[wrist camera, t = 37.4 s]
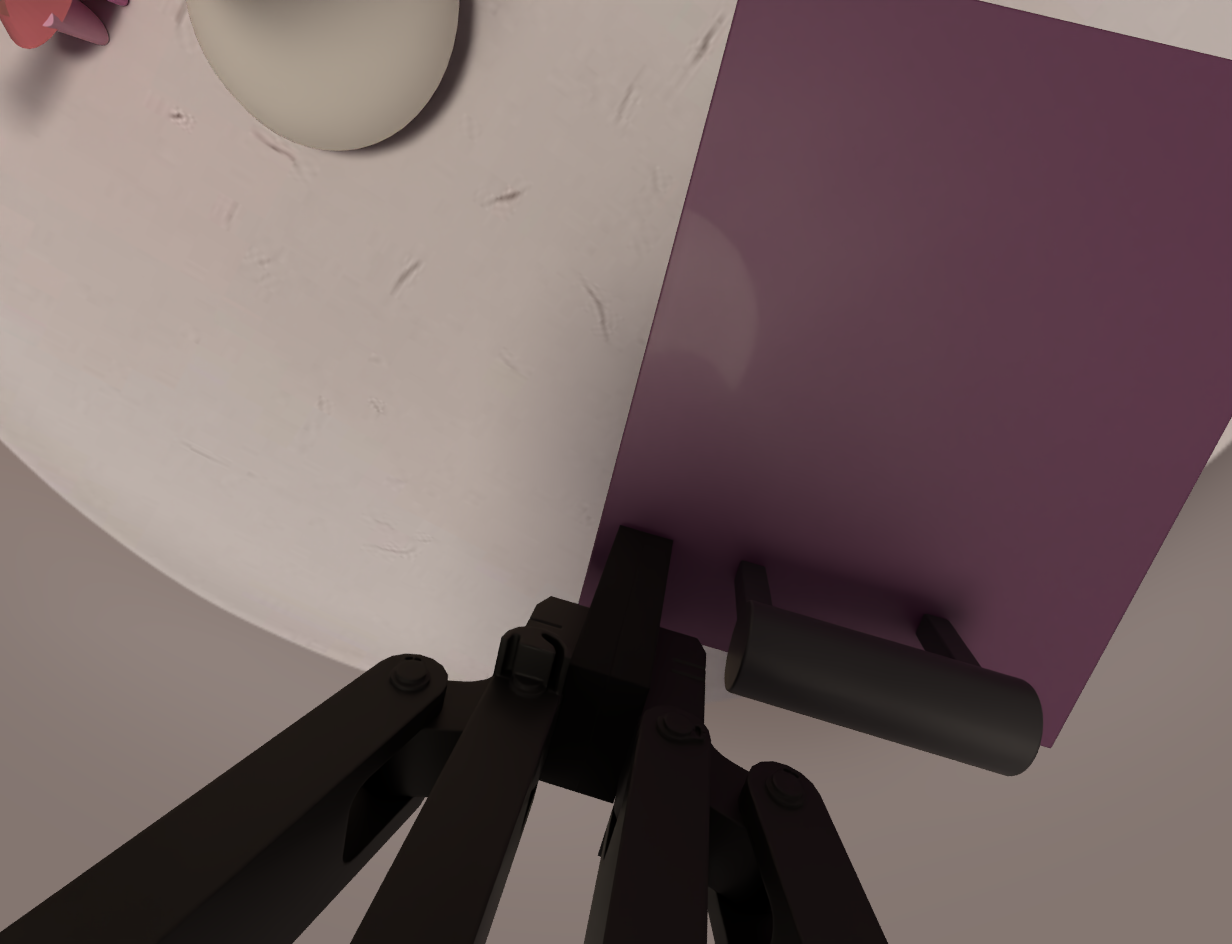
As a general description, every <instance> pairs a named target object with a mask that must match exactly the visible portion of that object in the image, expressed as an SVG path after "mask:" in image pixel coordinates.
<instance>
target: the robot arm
mask: <svg viewBox="0 0 1232 944" xmlns="http://www.w3.org/2000/svg"><path fill="white" fill-rule="evenodd" d="M672 546H673V540H670V539H667V538H664V537H660V536H657V535H653V534H650V533H646V532H643V531H639V530H636V529H633V528H629V527H626V526H622V525H620V526H619V529H618V532H617V534H616V537H615V540H614V543H613V545H612V548H611V551H610V553H609V556H608V559H607V562H606V564H605V567H604V570H603V573H602V575H601V578H600V581H599V584H598V586H597V589H596V592H595V594H594V597H593V600H592V603H591V605H590V608H589V607H586V606H582V605H579V604H576V603H572V602H569V601H566V600H562V599H559V598H556V597H552V596H550V597H549V598H547V599H545V600H544V601H542V602H540V603H539V604H537V605H536V607H535V609H534V611H533V613H532V615H531V617H530V619H529V621H528V623H527V625H526V626H525V627H517V628H514V629H512V630H509V631H507V632H506V633H505V634H504V635H503V636H502V638H501V642H500V647H499V651H498V656H497V660H496V665H495V669H494V674H493V676H492V677H490V678H488V679H485V680H480V681H472V682H462V681H448V674H447V673H446V671H445V669H444V667H443V666H442V665H441V664H439V663H438V662H436V661H435V660H434V659H431V658H428V657H425V656H422V655H417V654H401V655H395V656H391V657H389V658H387V659H385V660H383V661H381V662H379V663H378V664H376V665H375V666H374V667H372V668H371V669H369V670H368V671H366V672H365V673H364V674H362V675H361V676H360V677H358V678H357V679H355V680H354V681H353V682H351V683H350V684H348V685H347V686H345V687H344V688H343V689H341V690H340V691H338V692H337V693H336V694H334V695H333V696H331V697H330V698H329V699H327V700H326V701H324V702H323V703H322V704H320V705H319V706H317V707H316V708H315V709H313V710H312V711H310V712H309V713H308V714H306V715H305V716H303V717H302V718H300V719H299V720H298V721H296V722H295V723H294V724H292V725H291V726H289V727H288V728H286V729H285V730H284V731H282V732H281V733H279V734H278V735H277V736H275V737H274V738H272V739H271V740H270V741H268V742H267V743H265V744H264V745H263V746H261V747H260V748H258V749H257V750H256V751H254V752H253V753H251V754H250V755H249V756H247V757H246V758H244V759H243V760H241V761H240V762H239V763H237V764H236V765H235V766H233V767H232V768H230V769H229V770H227V771H226V772H225V773H223V774H222V775H220V776H219V777H218V778H216V779H215V780H213V781H212V782H211V783H209V784H208V785H206V786H205V787H204V788H202V789H201V790H199V791H198V792H197V793H195V794H194V795H192V796H191V797H190V798H189V799H187V800H185V801H184V802H182V803H181V804H180V805H178V806H177V807H175V808H174V809H173V810H171V811H170V812H168V813H167V814H166V815H164V816H163V817H161V818H160V819H159V820H157V821H156V822H154V823H153V824H152V825H150V826H149V827H147V828H146V829H145V830H143V831H142V832H140V833H139V834H138V835H136V836H135V837H133V838H132V839H131V840H129V841H128V842H126V843H125V844H123V845H122V846H121V847H119V848H118V849H116V850H115V851H114V852H112V853H111V854H110V855H108V856H107V857H105V858H104V859H102V860H101V861H100V862H98V863H97V864H95V865H94V866H93V867H91V868H90V869H88V870H87V871H86V872H84V873H83V874H82V875H80V876H79V877H77V878H76V879H74V880H73V881H72V882H70V883H69V884H67V885H66V886H65V887H63V888H62V889H60V890H59V891H58V892H56V893H55V894H53V895H52V896H50V897H49V898H48V899H46V900H45V901H44V902H42V903H41V904H39V905H38V906H36V907H35V908H34V909H32V910H31V911H29V912H28V913H27V914H25V915H24V916H22V917H21V918H20V919H18V920H17V921H15V922H14V923H13V924H11V925H10V926H8V927H7V928H6V929H4V930H3V931H1V932H0V944H292V943H293V942H294V941H295V940H296V939H297V938H298V937H299V936H300V935H301V933H302V932H303V931H304V930H305V929H306V928H307V927H308V926H309V925H310V924H311V923H312V921H314V919H315V918H316V917H317V916H318V915H319V914H320V913H321V912H322V911H323V910H324V909H325V908H326V907H327V906H328V904H329V903H330V902H331V901H332V900H333V899H334V898H335V897H336V896H337V895H338V894H339V893H340V891H341V890H342V889H343V888H344V887H345V886H346V885H347V884H348V883H349V882H350V881H351V880H352V878H353V877H354V876H355V875H356V874H357V873H358V872H359V871H360V870H361V869H362V867H364V866H365V864H366V863H367V862H368V861H369V860H370V859H371V858H372V857H373V856H374V855H375V854H376V853H377V852H378V850H379V849H380V848H381V847H382V846H383V845H384V844H385V843H386V842H387V841H388V839H390V837H391V836H392V835H393V834H394V833H395V832H396V831H397V830H398V829H399V828H400V827H401V826H402V825H403V823H404V822H405V821H406V820H407V819H408V818H409V817H410V816H411V815H412V814H413V813H414V812H415V811H416V809H417V808H418V807H419V806H420V805H421V803H422V801H423V800H424V798H425V797H428V798H427V800H426V802H425V804H424V805H423V807H422V809H421V811H420V813H419V815H418V817H417V819H416V821H415V822H414V824H413V826H412V828H411V830H410V832H409V834H408V836H407V838H406V839H405V841H404V843H403V845H402V847H401V849H400V851H399V853H398V854H397V856H396V858H395V860H394V862H393V864H392V866H391V867H390V869H389V871H388V873H387V875H386V877H385V879H384V881H383V883H382V884H381V886H380V888H379V890H378V892H377V894H376V896H375V898H374V899H373V901H372V903H371V905H370V907H369V909H368V911H367V913H366V915H365V916H364V918H363V920H362V922H361V924H360V926H359V928H358V929H357V931H356V933H355V935H354V937H353V939H352V941H351V943H350V944H485V943H486V940H487V937H488V934H489V931H490V928H491V925H492V922H493V919H494V916H495V913H496V910H497V907H498V904H499V901H500V898H501V895H502V892H503V889H504V886H505V883H506V880H507V877H508V874H509V871H510V868H511V865H512V862H513V859H514V856H515V853H516V850H517V848H518V845H519V842H520V838H521V836H522V832H523V830H524V827H525V824H526V821H527V818H528V815H529V812H530V808H531V805H532V803H533V799H534V796H535V792H536V788H537V784H538V781H539V780H540V781H543V782H546V783H549V784H553V785H556V786H559V787H563V788H565V789H569V790H572V791H575V792H578V793H581V794H584V795H588V796H591V797H594V798H597V799H601V800H603V801H607V802H610V803H613V802H614V799H615V802H614V806H613V809H612V812H611V816H610V819H609V822H608V825H607V828H606V831H605V834H604V838H603V841H602V844H601V847H600V850H599V853H598V856H600V857H601V860H600V865H599V871H598V875H597V880H596V885H595V890H594V895H593V900H592V905H591V910H590V915H589V920H588V925H587V930H586V935H585V941H584V944H707V913H709V918H710V922H711V927H712V931H713V936H714V940H715V944H888V942H887V940H886V938H885V936H884V934H883V931H882V929H881V927H880V925H879V923H878V921H877V918H876V916H875V914H874V912H873V909H872V907H871V905H870V903H869V901H868V899H867V897H866V894H865V892H864V890H863V888H862V886H861V883H860V881H859V879H858V877H857V874H856V872H855V870H854V868H853V866H852V863H851V861H850V859H849V857H848V855H847V853H846V850H845V848H844V846H843V844H842V842H841V839H840V837H839V835H838V833H837V831H836V828H835V826H834V824H833V822H832V820H831V818H830V816H829V813H828V811H827V809H826V807H825V804H824V802H823V800H822V798H821V796H820V794H819V793H818V791H817V789H816V788H815V787H814V785H813V783H811V782H810V781H809V780H808V779H807V778H806V777H805V776H804V775H802V773H800V772H798V771H797V770H795V769H793V768H791V767H789V766H787V765H784V764H781V763H777V762H773V761H770V762H759V763H758V764H756V765H754V766H752V768H751V769H750V771H747V770H745V769H743V768H742V767H740V766H738V765H736V764H735V763H733V762H731V761H730V760H728V759H727V758H725V757H724V756H723V755H721V754H720V753H719V752H718V751H717V750H716V749H715V748H714V747H713V745H712V744H711V739H710V735H709V730H708V729H707V727H706V726H705V725H704V705H705V674H706V671H705V668H706V652H705V650H704V649H703V647H702V645H701V643H700V641H699V639H698V638H695V637H692V636H689V635H685V634H682V633H679V632H675V631H672V630H668V629H665V628H662V627H660V622H661V615H662V609H663V603H664V596H665V590H666V584H667V578H668V571H669V565H670V559H671V552H672ZM615 796H616V797H615Z"/></svg>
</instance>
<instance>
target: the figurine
mask: <svg viewBox="0 0 1232 944" xmlns="http://www.w3.org/2000/svg"><path fill="white" fill-rule="evenodd" d="M107 1H110V2H112V3H114V4H117V5H120V6H125V5H127V3H128V0H107ZM0 19H1V21H2V23H3V25H4V27H5V29H6V30H7V32H8V34H9V36H10V38H11V39H12V40H13V41H14V42H15V43H16V44H17V45H18V46H20V47H22V48H27V49H31V48H36V47H38V46H40V45H42V44H44V43H45V42H46V41H47V40H49V39H50V38H51V37H52V36H53V35H54V33H55V32H56V31H59V32H62V33H65V34H68V35H71V36H74V37H77V38H80V39H82V40H85V41H88V42H91V43H94V44H97V45H106V44H107V43H108V41H109V36H108V33H107V30H106V28H105V27H104V25H103V23H102V22H101V21H100V19H99V18H98V17H97V16H96V15H95V14H94V13H93V12H92V11H91V10H90V9H89V8H88V7H87V6H86V5H84V4H83V3H81V2H80V1H78V0H0Z"/></svg>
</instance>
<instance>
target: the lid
mask: <svg viewBox="0 0 1232 944" xmlns="http://www.w3.org/2000/svg"><path fill="white" fill-rule="evenodd" d="M1231 417H1232V60H1230V59H1226V58H1221V57H1217V56H1213V55H1208V54H1204V53H1200V52H1196V51H1191V50H1187V49H1183V48H1179V47H1174V46H1170V45H1166V44H1162V43H1157V42H1153V41H1149V40H1145V39H1140V38H1136V37H1132V36H1128V35H1123V34H1119V33H1115V32H1111V31H1106V30H1102V29H1098V28H1094V27H1089V26H1085V25H1081V24H1077V23H1072V22H1068V21H1064V20H1060V19H1055V18H1051V17H1047V16H1043V15H1038V14H1034V13H1030V12H1026V11H1021V10H1017V9H1013V8H1009V7H1004V6H1000V5H996V4H992V3H987V2H983V1H979V0H738V1H737V5H736V9H735V13H734V16H733V20H732V24H731V28H730V32H729V35H728V39H727V43H726V47H725V50H724V54H723V58H722V62H721V66H720V69H719V73H718V77H717V81H716V85H715V88H714V92H713V96H712V100H711V103H710V107H709V111H708V115H707V119H706V122H705V126H704V130H703V134H702V138H701V141H700V145H699V149H698V153H697V156H696V160H695V164H694V168H693V172H692V175H691V179H690V183H689V187H688V191H687V194H686V198H685V202H684V206H683V209H682V213H681V217H680V221H679V225H678V228H677V232H676V236H675V240H674V244H673V247H672V251H671V255H670V259H669V263H668V266H667V270H666V274H665V278H664V281H663V285H662V289H661V293H660V297H659V300H658V304H657V308H656V312H655V316H654V319H653V323H652V327H651V331H650V334H649V338H648V342H647V346H646V350H645V353H644V357H643V361H642V365H641V369H640V372H639V376H638V380H637V384H636V387H635V391H634V395H633V399H632V403H631V406H630V410H629V414H628V418H627V422H626V425H625V429H624V433H623V437H622V440H621V444H620V448H619V452H618V456H617V459H616V463H615V467H614V471H613V475H612V478H611V482H610V486H609V490H608V493H607V497H606V501H605V505H604V509H603V512H602V516H601V520H600V524H599V528H598V531H597V535H596V539H595V543H594V546H593V550H592V554H591V558H590V562H589V565H588V569H587V573H586V577H585V581H584V584H583V588H582V592H581V596H580V599H579V603H578V604H579V605H582V606H586V607H589V608H590V605H591V603H592V600H593V597H594V594H595V592H596V589H597V586H598V584H599V581H600V578H601V575H602V573H603V570H604V567H605V564H606V562H607V559H608V556H609V553H610V551H611V548H612V545H613V543H614V540H615V537H616V534H617V532H618V529H619V526H620V525H622V526H626V527H629V528H633V529H636V530H639V531H643V532H646V533H650V534H653V535H657V536H660V537H664V538H667V539H670V540H673V546H672V552H671V559H670V565H669V571H668V578H667V584H666V590H665V596H664V603H663V609H662V615H661V622H660V627H662V628H665V629H668V630H672V631H675V632H679V633H682V634H685V635H689V636H692V637H695V638H698V639H699V641H700V643H701V644H702V645H705V646H708V647H712V648H715V649H719V650H722V651H725V652H728V654H727V660H726V667H725V688H726V690H727V691H728V692H730V693H733V694H737V695H740V696H743V697H747V698H750V699H754V700H757V701H760V702H763V703H767V704H770V705H774V706H776V707H780V708H783V709H786V710H790V711H793V712H796V713H800V714H803V715H806V716H810V717H813V718H816V719H820V720H823V721H826V722H829V723H833V724H836V725H839V726H843V727H846V728H850V729H853V730H856V731H859V732H863V733H866V734H869V735H873V736H876V737H879V738H883V739H886V740H889V741H892V742H896V743H899V744H902V745H906V746H909V747H913V748H916V749H919V750H922V751H926V752H929V753H932V754H936V755H939V756H943V757H946V758H949V759H952V760H956V761H959V762H962V763H965V764H969V765H972V766H976V767H979V768H982V769H986V770H989V771H992V772H995V773H999V774H1002V775H1006V776H1015V775H1018V774H1021V773H1022V772H1024V771H1025V770H1026V769H1027V768H1028V767H1029V766H1030V765H1031V764H1032V762H1033V760H1034V759H1035V757H1036V755H1037V753H1038V749H1039V747H1040V745H1041V746H1044V747H1048V748H1051V747H1052V745H1053V744H1054V742H1055V740H1056V738H1057V736H1058V734H1059V733H1060V731H1061V729H1062V727H1063V725H1064V723H1065V722H1066V720H1067V718H1068V716H1069V714H1070V712H1071V711H1072V709H1073V707H1074V705H1075V703H1076V701H1077V699H1078V698H1079V696H1080V694H1081V692H1082V690H1083V689H1084V687H1085V685H1086V683H1087V681H1088V679H1089V677H1090V676H1091V674H1092V672H1093V670H1094V668H1095V667H1096V665H1097V663H1098V661H1099V659H1100V657H1101V655H1102V654H1103V652H1104V650H1105V648H1106V646H1107V645H1108V642H1109V641H1110V639H1111V637H1112V635H1113V634H1114V632H1115V630H1116V628H1117V626H1118V624H1119V623H1120V621H1121V619H1122V617H1123V615H1124V613H1125V612H1126V610H1127V608H1128V606H1129V604H1130V602H1131V601H1132V599H1133V597H1134V595H1135V593H1136V591H1137V590H1138V588H1139V586H1140V584H1141V582H1142V580H1143V578H1144V577H1145V575H1146V573H1147V571H1148V569H1149V568H1150V566H1151V564H1152V562H1153V560H1154V558H1155V557H1156V555H1157V553H1158V551H1159V549H1160V547H1161V546H1162V544H1163V542H1164V540H1165V538H1166V536H1167V535H1168V533H1169V531H1170V529H1171V527H1172V525H1173V524H1174V522H1175V520H1176V518H1177V516H1178V514H1179V512H1180V511H1181V509H1182V507H1183V505H1184V503H1185V502H1186V500H1187V498H1188V496H1189V494H1190V492H1191V491H1192V489H1193V487H1194V485H1195V483H1196V481H1197V480H1198V478H1199V476H1200V474H1201V472H1202V470H1203V469H1204V467H1205V465H1206V463H1207V461H1208V459H1209V458H1210V456H1211V454H1212V452H1213V450H1214V448H1215V447H1216V445H1217V443H1218V441H1219V439H1220V437H1221V436H1222V434H1223V432H1224V430H1225V428H1226V426H1227V425H1228V423H1229V421H1230V419H1231Z"/></svg>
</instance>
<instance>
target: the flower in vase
mask: <svg viewBox="0 0 1232 944" xmlns="http://www.w3.org/2000/svg"><path fill="white" fill-rule="evenodd" d="M186 4H187V8H188V12H189V17H190V20H191V23H192V26H193V29H194V32H195V34H196V37H197V40H198V42H199V44H200V46H201V48H202V50H203V53H204V55H205V57H206V58H207V60H208V62H209V64H210V65H211V67H212V69H213V70H214V72H215V74H216V75H217V76H218V78H219V79H220V80H221V82H222V83H223V84H224V86H225V87H226V88H227V90H228V91H229V92H230V93H231V94H232V95H233V96H234V97H235V98H236V99H237V101H238V102H239V103H240V104H241V105H242V106H243V107H244V108H245V109H246V110H247V111H248V112H249V113H250V114H251V115H252V116H253V117H255V118H256V119H257V120H258V121H259V122H260V123H261V124H263V125H264V126H266V127H267V128H269V129H270V130H272V131H273V132H275V133H276V134H278V135H280V136H282V137H284V138H286V139H288V140H290V141H292V142H295V143H298V144H301V145H304V146H307V147H310V148H316V149H321V150H331V151H345V150H353V149H359V148H363V147H366V146H370V145H373V144H376V143H378V142H380V141H382V140H384V139H386V138H389V137H390V136H392V135H393V134H395V133H396V132H398V131H399V130H401V129H402V128H404V127H405V126H406V125H407V124H408V123H409V122H410V121H411V120H413V119H414V118H415V117H416V116H417V115H418V114H419V112H420V111H421V110H422V109H423V108H424V106H425V105H426V104H427V103H428V101H429V100H430V98H431V97H432V95H433V93H434V92H435V90H436V89H437V87H438V85H439V83H440V81H441V79H442V77H443V75H444V73H445V70H446V68H447V66H448V62H449V59H450V56H451V53H452V50H453V46H454V41H455V36H456V31H457V25H458V14H459V0H186Z"/></svg>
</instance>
